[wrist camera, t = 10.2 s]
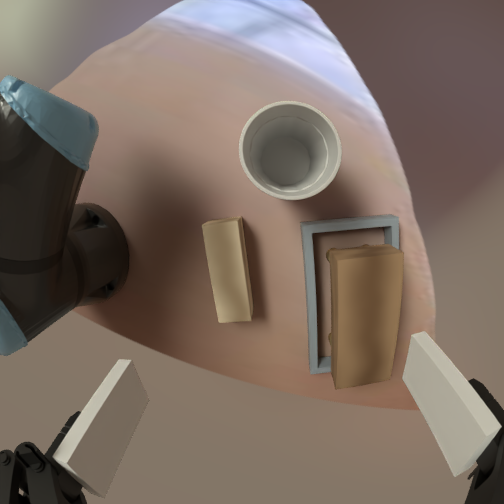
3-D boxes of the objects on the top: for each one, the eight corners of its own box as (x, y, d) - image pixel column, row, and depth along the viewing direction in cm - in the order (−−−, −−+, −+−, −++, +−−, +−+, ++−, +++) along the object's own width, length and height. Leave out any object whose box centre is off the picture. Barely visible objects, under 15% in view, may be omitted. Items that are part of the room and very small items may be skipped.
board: (330, 369, 32) (335, 389, 28) (329, 250, 28) (337, 260, 24) (380, 361, 31) (389, 379, 27) (388, 243, 28) (403, 252, 24)
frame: (308, 364, 38) (312, 385, 33) (300, 222, 33) (304, 228, 28) (384, 352, 36) (394, 371, 32) (390, 214, 32) (407, 219, 27)
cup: (238, 154, 31) (218, 138, 20) (291, 117, 30) (300, 83, 18) (277, 207, 33) (279, 220, 21) (330, 170, 31) (360, 164, 19)
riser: (224, 308, 36) (218, 322, 33) (209, 220, 34) (201, 225, 30) (253, 306, 36) (251, 320, 32) (241, 216, 33) (237, 220, 29)
